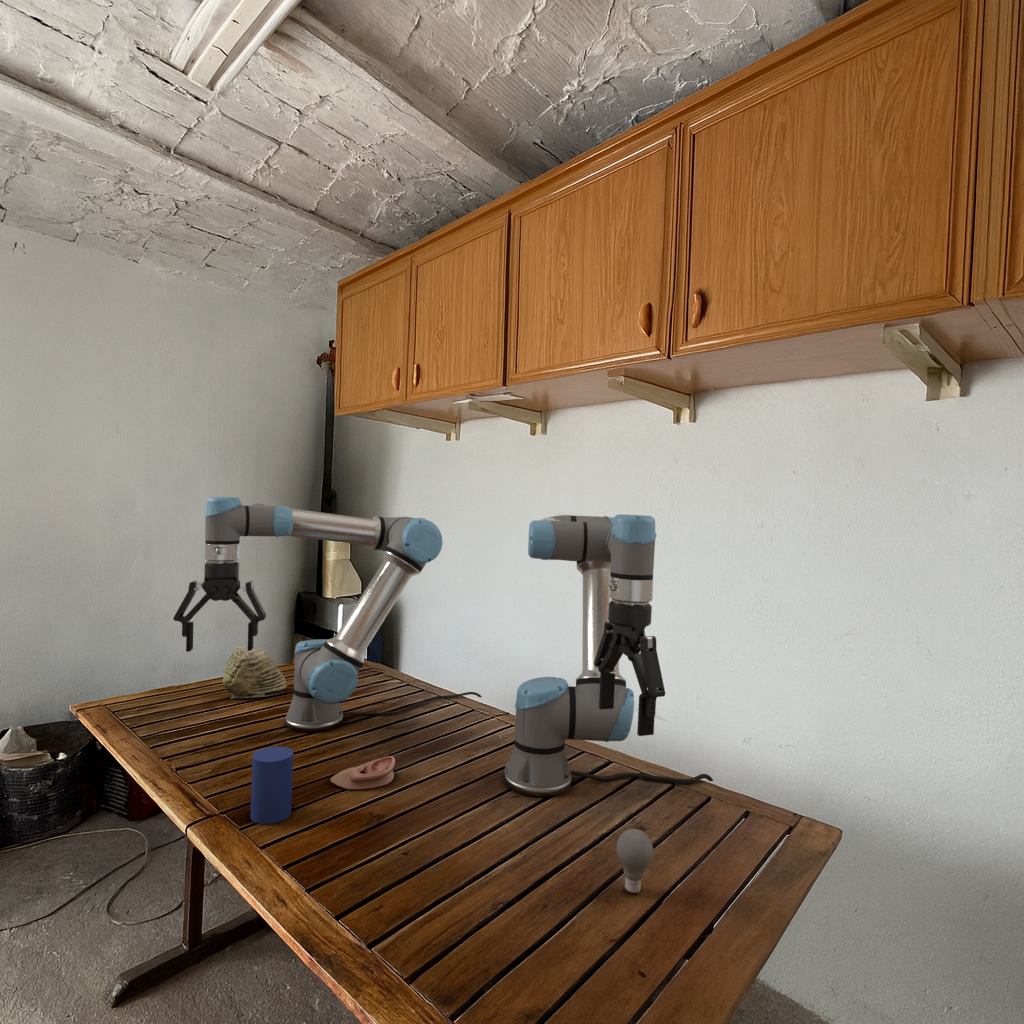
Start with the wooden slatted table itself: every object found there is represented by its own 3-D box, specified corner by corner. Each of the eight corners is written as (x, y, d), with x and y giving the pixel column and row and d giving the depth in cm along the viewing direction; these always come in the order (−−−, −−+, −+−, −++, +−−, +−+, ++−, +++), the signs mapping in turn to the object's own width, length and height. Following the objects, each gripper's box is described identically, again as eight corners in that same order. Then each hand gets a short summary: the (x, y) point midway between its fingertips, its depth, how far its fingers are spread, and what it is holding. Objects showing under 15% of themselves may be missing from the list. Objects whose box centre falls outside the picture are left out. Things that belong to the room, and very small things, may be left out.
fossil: (218, 695, 195) (220, 647, 195) (278, 685, 208) (279, 640, 207) (228, 703, 189) (230, 653, 188) (289, 692, 201) (290, 645, 201)
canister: (244, 823, 122) (246, 760, 122) (259, 804, 129) (261, 745, 129) (283, 825, 122) (286, 762, 122) (296, 805, 129) (298, 746, 129)
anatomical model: (324, 767, 138) (348, 748, 150) (323, 785, 138) (347, 764, 150) (381, 775, 136) (401, 755, 147) (380, 794, 136) (400, 772, 147)
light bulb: (610, 879, 108) (613, 822, 108) (644, 879, 109) (647, 822, 109) (619, 902, 102) (622, 840, 102) (655, 901, 103) (658, 840, 103)
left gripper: (159, 562, 145) (157, 654, 145) (274, 563, 150) (272, 652, 150) (170, 559, 152) (168, 646, 153) (279, 560, 157) (277, 645, 158)
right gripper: (579, 591, 122) (574, 700, 123) (650, 615, 99) (644, 749, 99) (614, 591, 125) (609, 697, 125) (691, 614, 102) (684, 745, 102)
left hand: (220, 650), depth 151 cm, fingers open, 13 cm apart
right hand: (624, 721), depth 112 cm, fingers open, 13 cm apart
